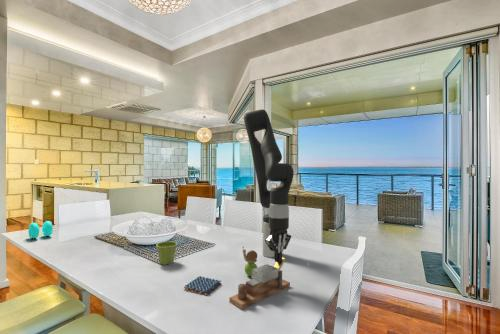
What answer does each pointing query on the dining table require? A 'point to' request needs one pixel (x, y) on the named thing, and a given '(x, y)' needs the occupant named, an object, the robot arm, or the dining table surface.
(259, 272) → the grey rough lump
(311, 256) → the dining table surface
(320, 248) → the dining table surface
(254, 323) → the dining table surface
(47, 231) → the turquoise egg pair
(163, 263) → the plant pot
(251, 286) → the plane body
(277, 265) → the lever
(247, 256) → the green toy figurine
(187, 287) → the woven mat
